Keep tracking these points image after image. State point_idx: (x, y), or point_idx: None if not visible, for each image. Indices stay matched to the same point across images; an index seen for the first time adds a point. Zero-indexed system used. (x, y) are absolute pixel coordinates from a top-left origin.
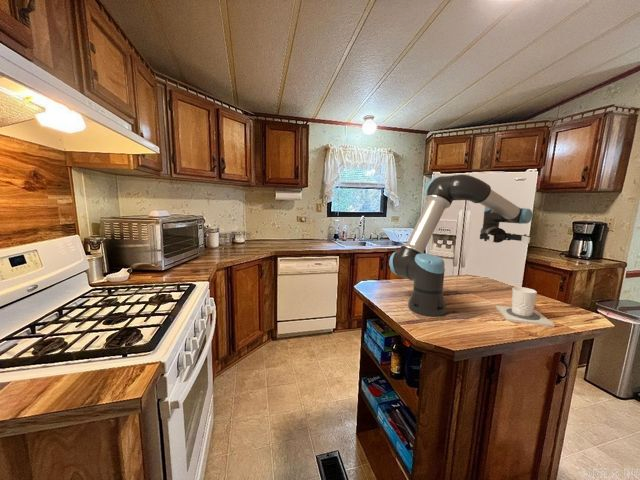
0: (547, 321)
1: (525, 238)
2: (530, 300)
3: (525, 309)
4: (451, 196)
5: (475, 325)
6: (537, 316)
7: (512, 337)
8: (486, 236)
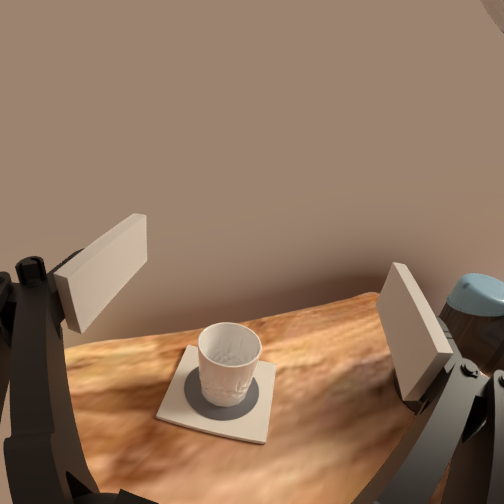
0: (190, 356)
1: (125, 247)
2: (226, 339)
3: (231, 360)
4: None
5: (344, 343)
6: (195, 374)
7: (295, 316)
8: (443, 328)
